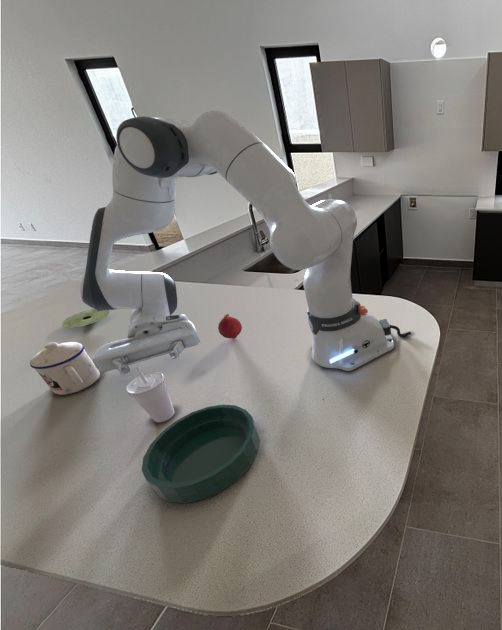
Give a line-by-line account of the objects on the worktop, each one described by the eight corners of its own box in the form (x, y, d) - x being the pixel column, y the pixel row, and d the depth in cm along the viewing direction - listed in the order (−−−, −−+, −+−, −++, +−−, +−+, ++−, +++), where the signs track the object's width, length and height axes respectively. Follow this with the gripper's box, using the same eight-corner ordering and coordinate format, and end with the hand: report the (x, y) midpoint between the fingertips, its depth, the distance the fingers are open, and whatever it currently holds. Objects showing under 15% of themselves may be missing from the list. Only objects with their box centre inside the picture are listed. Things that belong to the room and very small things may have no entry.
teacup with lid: (47, 386, 80) (16, 347, 74) (94, 365, 86) (69, 328, 80) (62, 407, 74) (30, 367, 68) (112, 383, 80) (86, 345, 74)
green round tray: (253, 409, 73) (247, 393, 71) (267, 472, 60) (260, 455, 58) (157, 444, 66) (146, 427, 63) (150, 525, 53) (136, 508, 50)
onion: (236, 345, 94) (227, 321, 89) (218, 342, 95) (208, 319, 90) (249, 333, 98) (241, 310, 94) (231, 331, 99) (223, 308, 95)
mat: (91, 333, 99) (88, 327, 98) (54, 332, 99) (50, 327, 98) (121, 313, 109) (118, 308, 108) (87, 313, 109) (84, 308, 108)
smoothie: (155, 432, 68) (123, 381, 61) (140, 419, 71) (108, 369, 64) (187, 411, 73) (161, 362, 65) (172, 400, 76) (146, 351, 68)
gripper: (91, 337, 78) (81, 369, 68) (191, 312, 88) (196, 337, 78) (104, 358, 81) (97, 392, 71) (200, 331, 91) (205, 358, 81)
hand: (149, 363), depth 75 cm, fingers open, 8 cm apart
